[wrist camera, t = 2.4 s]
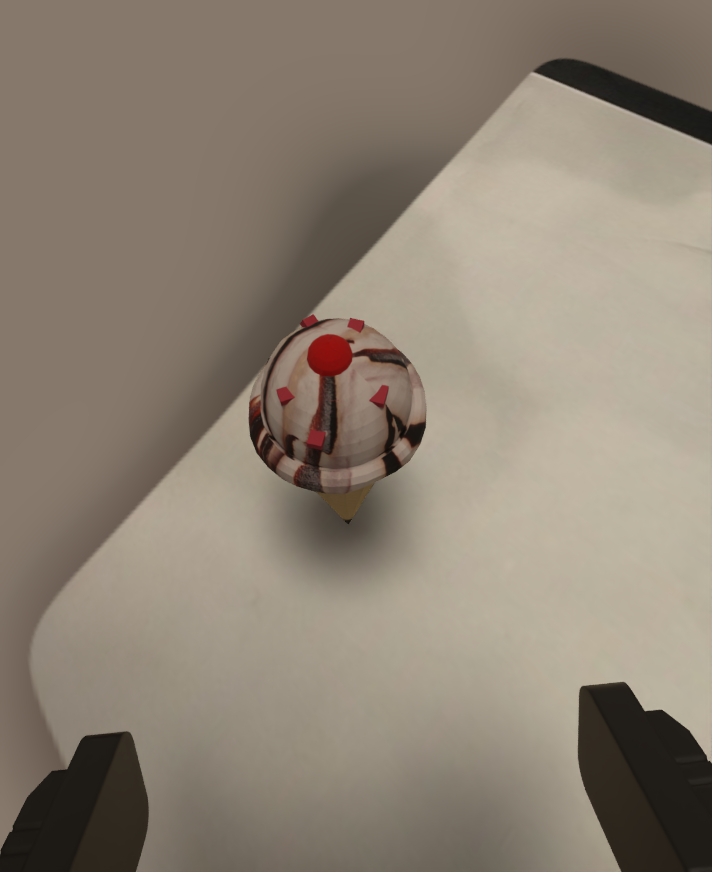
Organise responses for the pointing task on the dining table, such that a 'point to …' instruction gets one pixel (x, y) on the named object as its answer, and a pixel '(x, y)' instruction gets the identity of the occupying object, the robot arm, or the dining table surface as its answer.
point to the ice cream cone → (337, 410)
